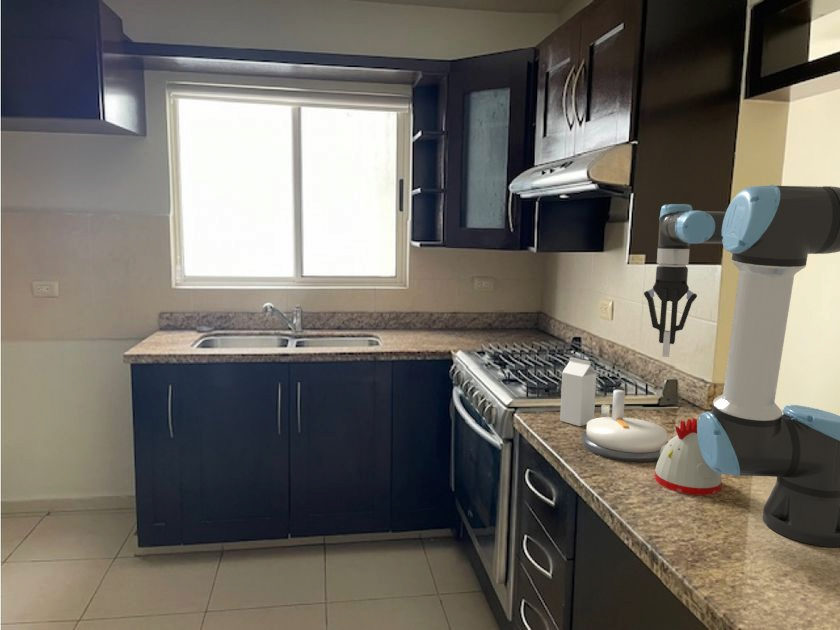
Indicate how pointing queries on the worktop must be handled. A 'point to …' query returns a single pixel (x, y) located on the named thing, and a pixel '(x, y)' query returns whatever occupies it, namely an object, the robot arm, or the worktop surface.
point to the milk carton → (578, 392)
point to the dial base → (618, 454)
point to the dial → (625, 431)
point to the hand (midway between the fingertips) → (665, 355)
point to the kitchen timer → (686, 464)
